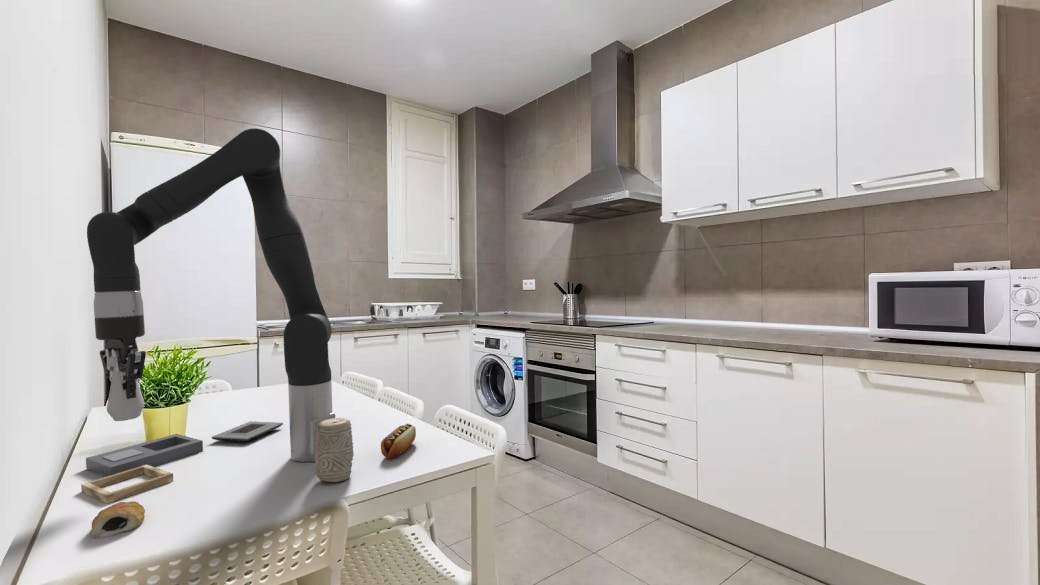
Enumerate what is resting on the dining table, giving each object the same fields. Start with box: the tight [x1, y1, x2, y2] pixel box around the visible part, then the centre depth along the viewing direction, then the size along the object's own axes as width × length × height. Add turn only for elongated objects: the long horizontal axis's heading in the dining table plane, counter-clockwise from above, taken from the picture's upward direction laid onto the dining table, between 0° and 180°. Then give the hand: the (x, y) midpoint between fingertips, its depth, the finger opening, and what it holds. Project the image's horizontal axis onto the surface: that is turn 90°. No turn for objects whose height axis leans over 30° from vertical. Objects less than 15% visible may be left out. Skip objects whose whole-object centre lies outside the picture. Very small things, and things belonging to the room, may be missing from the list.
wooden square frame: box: [80, 465, 174, 504], centre depth 96 cm, size 11×11×2 cm
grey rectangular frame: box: [85, 433, 204, 477], centre depth 110 cm, size 12×18×3 cm, turn 151°
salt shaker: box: [106, 356, 145, 422], centre depth 95 cm, size 6×6×13 cm
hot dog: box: [380, 423, 417, 459], centre depth 112 cm, size 5×13×5 cm, turn 171°
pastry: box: [89, 500, 146, 540], centre depth 81 cm, size 9×7×4 cm
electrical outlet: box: [211, 421, 284, 442], centre depth 126 cm, size 13×10×2 cm
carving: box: [314, 417, 355, 483], centre depth 97 cm, size 6×8×12 cm
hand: (125, 399), depth 95 cm, fingers closed on salt shaker, 3 cm apart
